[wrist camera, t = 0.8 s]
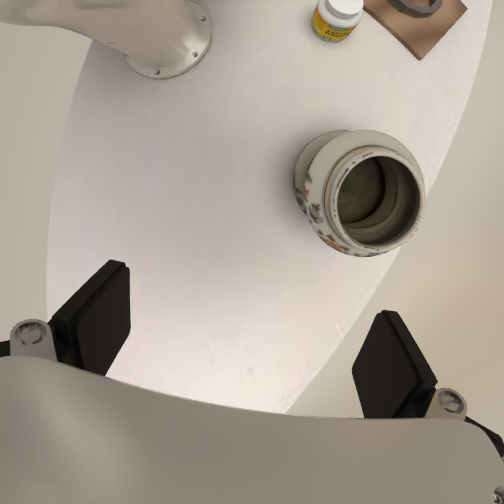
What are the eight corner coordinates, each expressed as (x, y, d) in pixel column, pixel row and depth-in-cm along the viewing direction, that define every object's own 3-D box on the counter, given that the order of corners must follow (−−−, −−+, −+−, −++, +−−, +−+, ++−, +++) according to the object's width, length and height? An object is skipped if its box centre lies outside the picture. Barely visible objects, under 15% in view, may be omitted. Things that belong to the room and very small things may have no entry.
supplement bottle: (342, 8, 30) (360, -21, 21) (354, 40, 32) (377, 17, 23) (305, 13, 31) (314, -18, 22) (317, 45, 33) (331, 22, 24)
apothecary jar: (393, 173, 39) (465, 203, 22) (337, 236, 42) (376, 300, 26) (330, 112, 36) (375, 96, 20) (271, 179, 40) (273, 212, 23)
